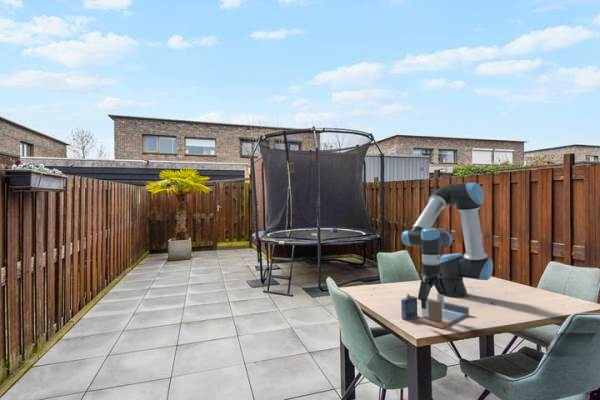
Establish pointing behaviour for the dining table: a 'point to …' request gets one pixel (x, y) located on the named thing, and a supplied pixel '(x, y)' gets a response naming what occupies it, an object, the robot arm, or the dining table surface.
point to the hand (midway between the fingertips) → (433, 312)
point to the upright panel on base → (435, 315)
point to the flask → (409, 307)
